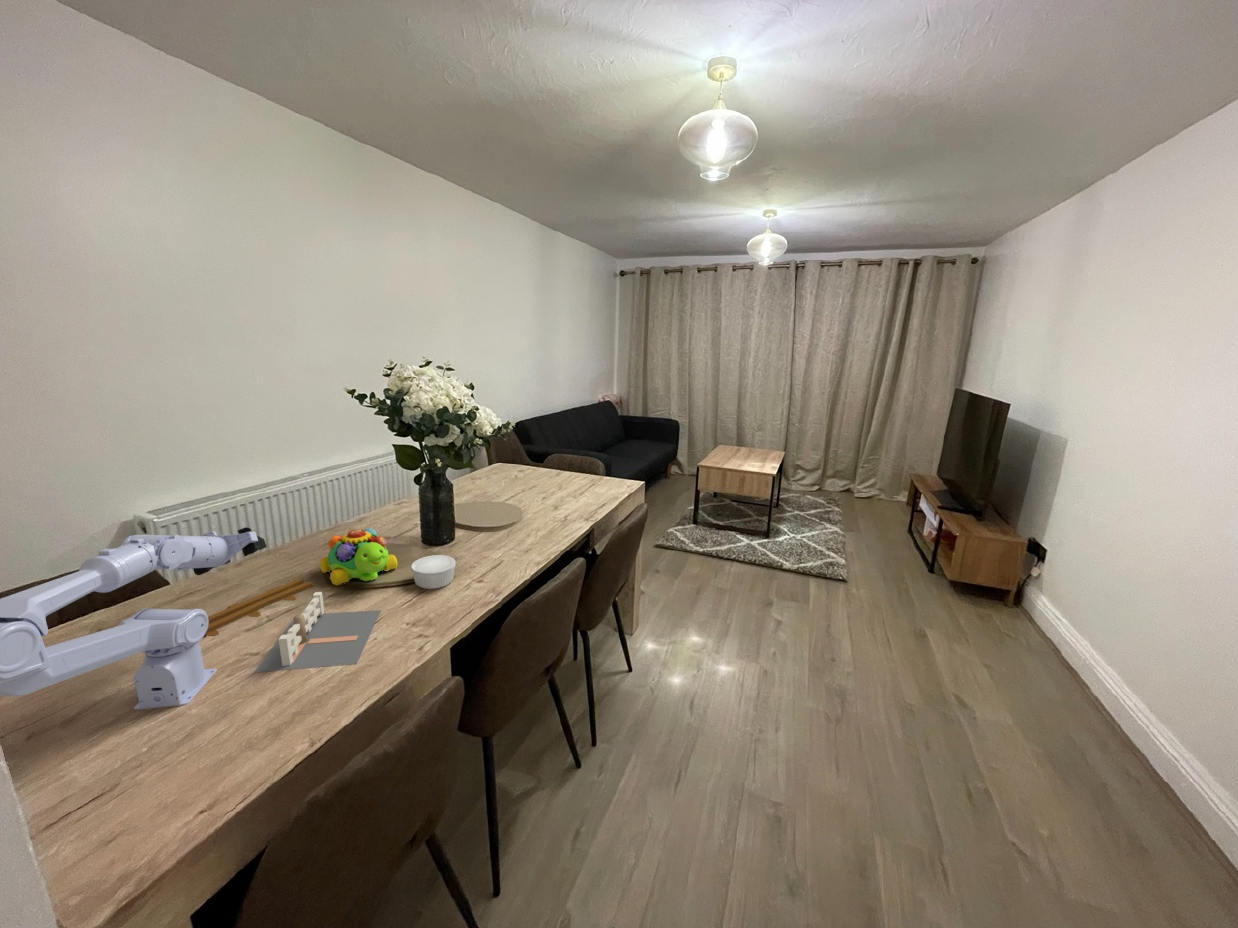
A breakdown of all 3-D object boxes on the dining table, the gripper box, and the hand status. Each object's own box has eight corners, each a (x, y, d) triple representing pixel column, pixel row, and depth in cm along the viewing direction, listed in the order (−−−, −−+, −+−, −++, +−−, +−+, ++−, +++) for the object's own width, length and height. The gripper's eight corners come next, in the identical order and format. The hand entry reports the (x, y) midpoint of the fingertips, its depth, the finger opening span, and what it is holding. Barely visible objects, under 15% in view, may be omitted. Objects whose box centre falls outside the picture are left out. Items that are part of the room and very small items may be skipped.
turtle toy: (344, 602, 120) (340, 558, 117) (315, 568, 136) (310, 528, 133) (412, 580, 132) (410, 540, 129) (379, 551, 148) (376, 515, 145)
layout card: (356, 665, 98) (356, 663, 98) (254, 674, 94) (254, 671, 94) (381, 611, 117) (381, 609, 117) (297, 616, 113) (296, 614, 113)
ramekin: (413, 573, 136) (412, 556, 134) (456, 569, 139) (455, 552, 138) (410, 594, 125) (409, 575, 124) (456, 589, 129) (455, 570, 128)
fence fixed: (291, 665, 97) (287, 638, 95) (281, 665, 96) (277, 639, 95) (308, 639, 105) (305, 614, 103) (299, 639, 104) (295, 614, 103)
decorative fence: (177, 631, 106) (204, 645, 103) (176, 623, 106) (203, 636, 102) (293, 582, 129) (319, 592, 125) (292, 576, 128) (318, 585, 124)
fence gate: (307, 636, 105) (305, 614, 104) (300, 636, 105) (297, 615, 103) (324, 611, 114) (321, 591, 113) (317, 612, 114) (315, 592, 112)
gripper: (228, 516, 94) (273, 519, 107) (150, 547, 92) (206, 547, 105) (239, 550, 93) (283, 549, 106) (161, 582, 91) (215, 578, 104)
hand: (245, 550), depth 106 cm, fingers open, 7 cm apart
